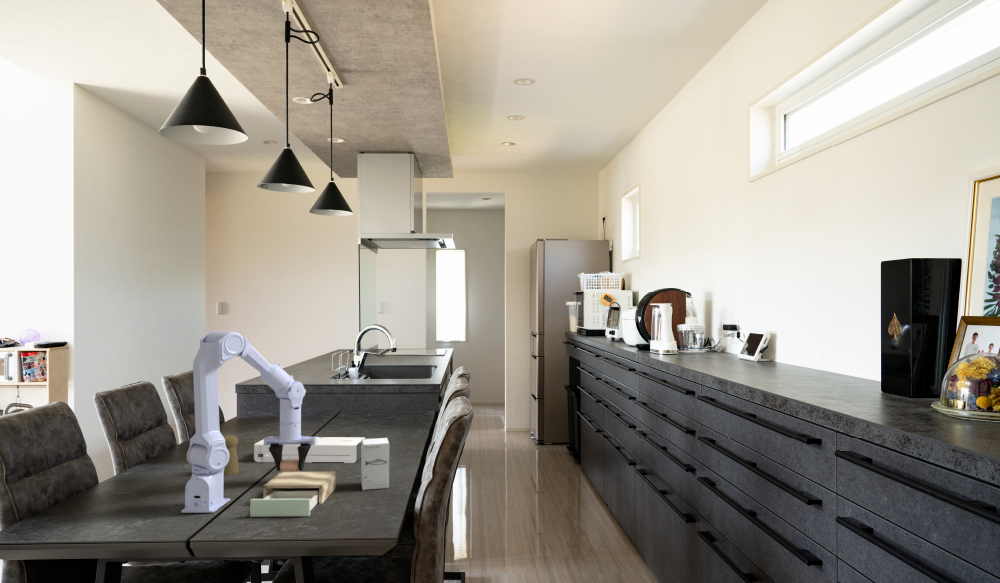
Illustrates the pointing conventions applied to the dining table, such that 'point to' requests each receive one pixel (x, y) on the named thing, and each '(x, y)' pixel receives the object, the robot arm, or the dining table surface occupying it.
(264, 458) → the laminator
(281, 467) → the disc
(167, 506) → the dining table surface
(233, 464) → the pepper mill
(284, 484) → the block
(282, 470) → the pedestal
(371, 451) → the supplement box
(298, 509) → the tray
